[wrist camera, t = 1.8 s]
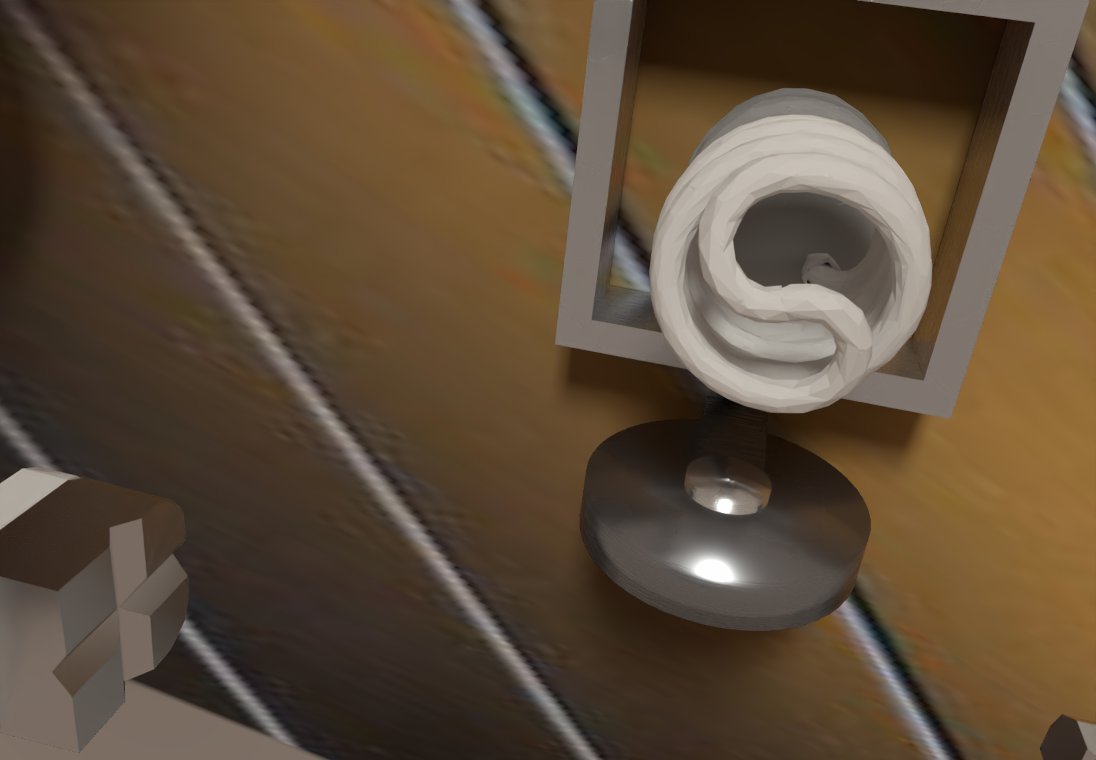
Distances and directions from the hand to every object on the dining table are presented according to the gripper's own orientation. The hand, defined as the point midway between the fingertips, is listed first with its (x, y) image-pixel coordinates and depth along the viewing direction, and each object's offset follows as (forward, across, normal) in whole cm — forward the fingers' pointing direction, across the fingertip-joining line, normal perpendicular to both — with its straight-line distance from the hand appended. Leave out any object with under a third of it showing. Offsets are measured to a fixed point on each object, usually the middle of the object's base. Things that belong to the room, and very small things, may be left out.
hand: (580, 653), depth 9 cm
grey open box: (+22, -2, +2) cm, 22 cm away
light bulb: (+22, -2, 0) cm, 22 cm away
